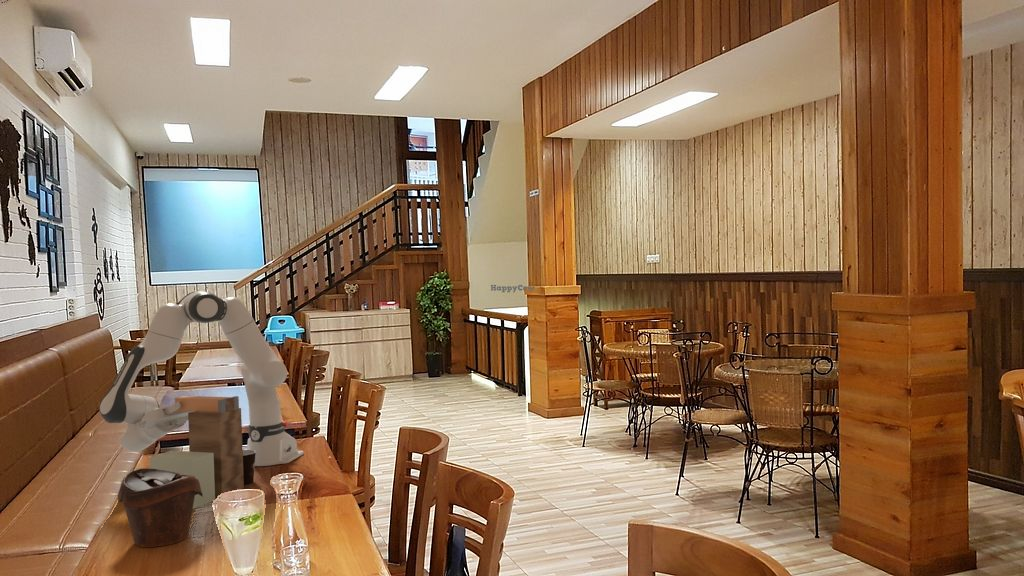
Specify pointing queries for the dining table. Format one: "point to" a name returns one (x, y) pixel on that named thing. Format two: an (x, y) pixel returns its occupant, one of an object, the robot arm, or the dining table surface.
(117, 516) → the dining table surface
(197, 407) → the orange brown flat block
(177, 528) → the brown round container
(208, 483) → the grey green block
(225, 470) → the stand
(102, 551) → the dining table surface
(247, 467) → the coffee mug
